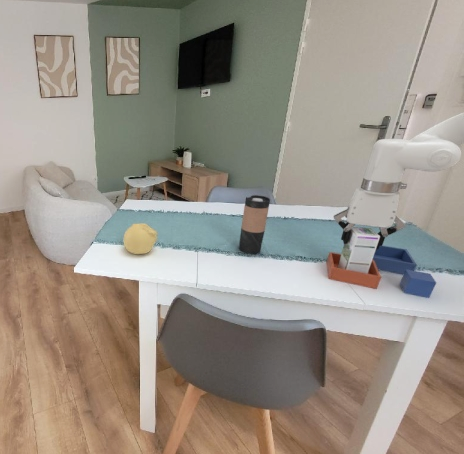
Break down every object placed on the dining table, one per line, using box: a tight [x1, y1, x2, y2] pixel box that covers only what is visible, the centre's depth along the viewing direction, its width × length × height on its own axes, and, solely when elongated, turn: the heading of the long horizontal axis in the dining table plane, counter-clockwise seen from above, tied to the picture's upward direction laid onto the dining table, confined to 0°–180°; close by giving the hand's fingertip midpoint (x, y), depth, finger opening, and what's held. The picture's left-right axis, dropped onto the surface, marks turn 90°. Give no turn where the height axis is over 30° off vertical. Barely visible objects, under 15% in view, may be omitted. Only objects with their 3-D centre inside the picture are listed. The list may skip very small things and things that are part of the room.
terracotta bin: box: [326, 251, 382, 290], centre depth 89 cm, size 11×11×4 cm
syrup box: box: [337, 226, 380, 274], centre depth 87 cm, size 6×6×14 cm
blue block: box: [399, 270, 437, 299], centre depth 81 cm, size 5×5×5 cm
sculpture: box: [123, 222, 158, 255], centre depth 109 cm, size 11×12×11 cm
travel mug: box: [238, 194, 271, 255], centre depth 104 cm, size 8×8×20 cm
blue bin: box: [372, 245, 417, 275], centre depth 94 cm, size 11×11×4 cm
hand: (360, 244), depth 86 cm, fingers closed on syrup box, 6 cm apart
